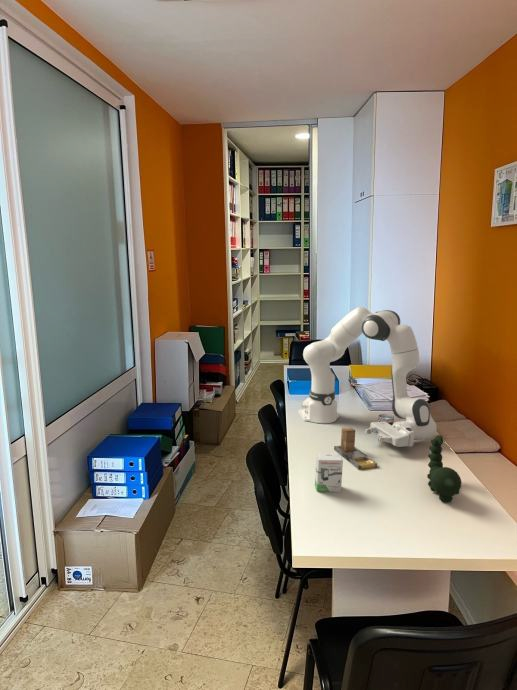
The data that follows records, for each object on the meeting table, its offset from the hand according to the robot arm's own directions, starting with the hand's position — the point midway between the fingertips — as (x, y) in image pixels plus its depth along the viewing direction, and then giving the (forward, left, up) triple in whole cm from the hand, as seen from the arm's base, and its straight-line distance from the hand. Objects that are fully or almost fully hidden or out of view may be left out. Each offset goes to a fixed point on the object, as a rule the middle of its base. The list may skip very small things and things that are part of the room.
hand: (372, 435), depth 207 cm
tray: (+6, -12, -6) cm, 14 cm away
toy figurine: (+40, +2, -6) cm, 41 cm away
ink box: (+26, -34, -6) cm, 43 cm away
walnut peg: (0, -12, -6) cm, 13 cm away
